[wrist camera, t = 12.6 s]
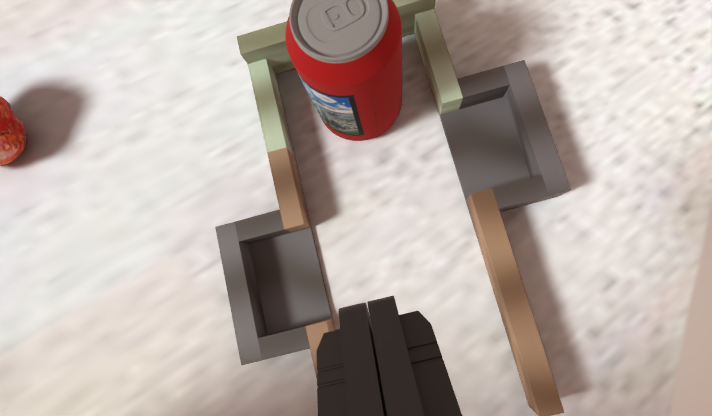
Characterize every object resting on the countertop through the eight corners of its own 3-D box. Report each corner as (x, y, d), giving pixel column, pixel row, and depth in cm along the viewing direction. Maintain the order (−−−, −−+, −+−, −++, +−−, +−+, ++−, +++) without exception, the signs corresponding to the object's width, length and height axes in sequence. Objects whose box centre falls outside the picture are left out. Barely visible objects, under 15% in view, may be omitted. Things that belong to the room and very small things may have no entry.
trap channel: (623, 384, 29) (658, 401, 25) (274, 464, 30) (255, 492, 26) (486, -6, 34) (497, -42, 30) (199, 79, 36) (175, 55, 32)
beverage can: (306, 89, 35) (256, -7, 23) (378, 51, 35) (366, -65, 23) (341, 159, 33) (308, 94, 22) (417, 120, 33) (424, 33, 22)
